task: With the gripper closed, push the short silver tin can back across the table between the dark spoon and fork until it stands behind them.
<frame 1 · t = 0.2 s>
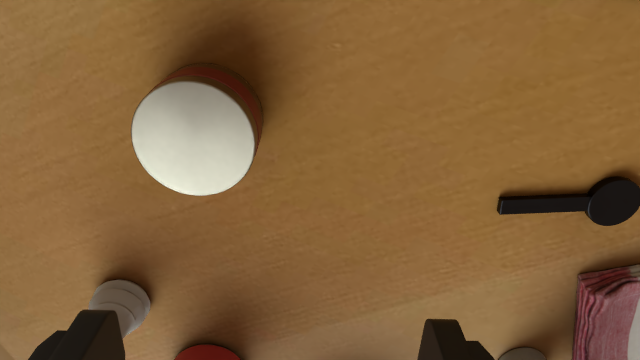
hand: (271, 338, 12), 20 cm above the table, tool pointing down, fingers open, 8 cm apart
spoon: (565, 200, 33), on the table
tin can: (209, 116, 29), on the table
rook chess piece: (125, 296, 36), on the table
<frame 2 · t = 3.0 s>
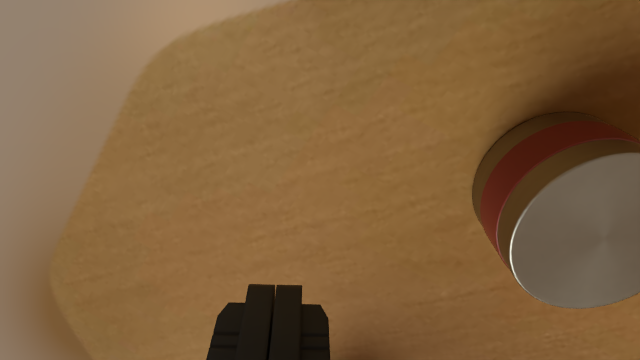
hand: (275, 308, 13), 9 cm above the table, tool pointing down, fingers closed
tin can: (547, 183, 21), on the table
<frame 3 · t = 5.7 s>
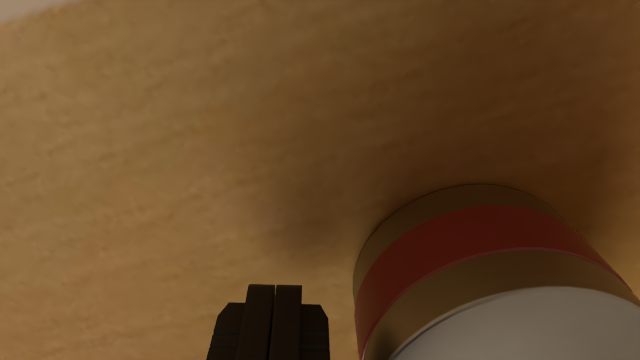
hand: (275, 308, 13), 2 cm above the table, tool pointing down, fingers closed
tin can: (461, 280, 14), on the table, touching gripper
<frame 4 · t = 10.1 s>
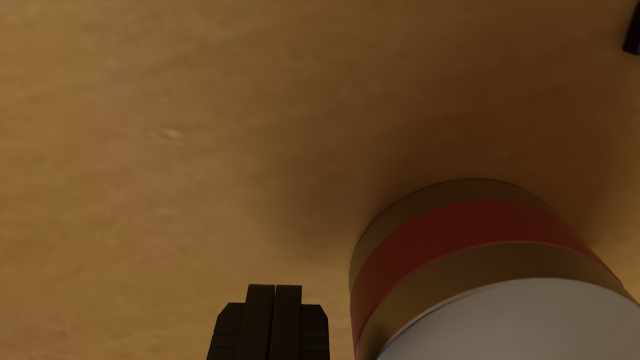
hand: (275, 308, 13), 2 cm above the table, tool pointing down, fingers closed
tin can: (456, 274, 14), on the table, touching gripper
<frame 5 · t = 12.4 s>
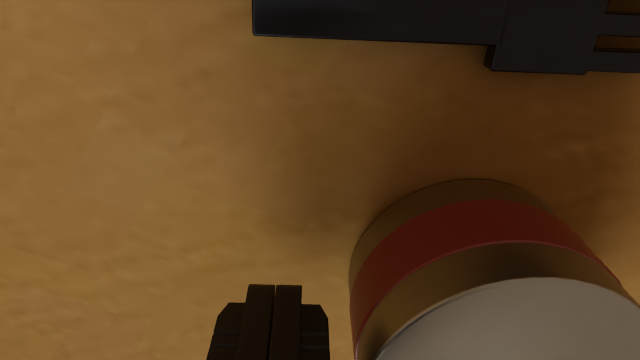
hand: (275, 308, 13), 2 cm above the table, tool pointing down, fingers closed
tin can: (456, 274, 14), on the table, touching gripper
fork: (460, 15, 11), on the table
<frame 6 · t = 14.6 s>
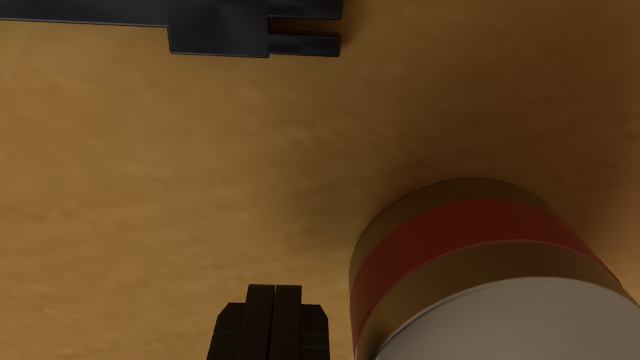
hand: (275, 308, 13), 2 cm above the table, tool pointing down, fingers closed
tin can: (456, 274, 14), on the table, touching gripper
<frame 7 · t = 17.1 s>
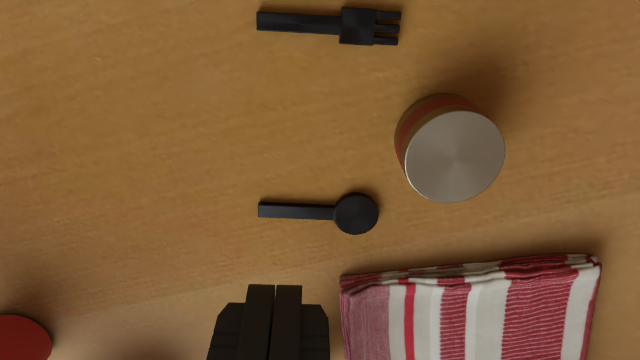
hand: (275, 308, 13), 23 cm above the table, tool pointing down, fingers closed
dish towel: (461, 328, 44), on the table
beer can: (21, 335, 44), on the table
spoon: (317, 210, 38), on the table
tin can: (438, 137, 35), on the table
fork: (328, 24, 31), on the table
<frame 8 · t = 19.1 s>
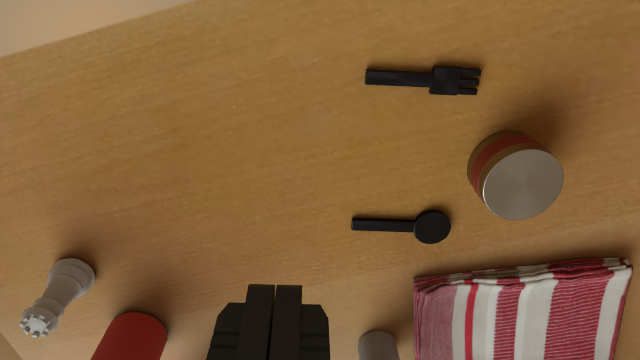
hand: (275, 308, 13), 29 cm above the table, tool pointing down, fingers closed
dish towel: (511, 320, 52), on the table
beer can: (140, 329, 52), on the table
spoon: (399, 223, 46), on the table
tin can: (503, 164, 43), on the table
grey hollow cylinder: (376, 342, 53), on the table
fork: (421, 78, 39), on the table
rook chess piece: (76, 271, 48), on the table
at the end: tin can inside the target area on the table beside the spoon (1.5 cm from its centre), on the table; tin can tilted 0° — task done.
